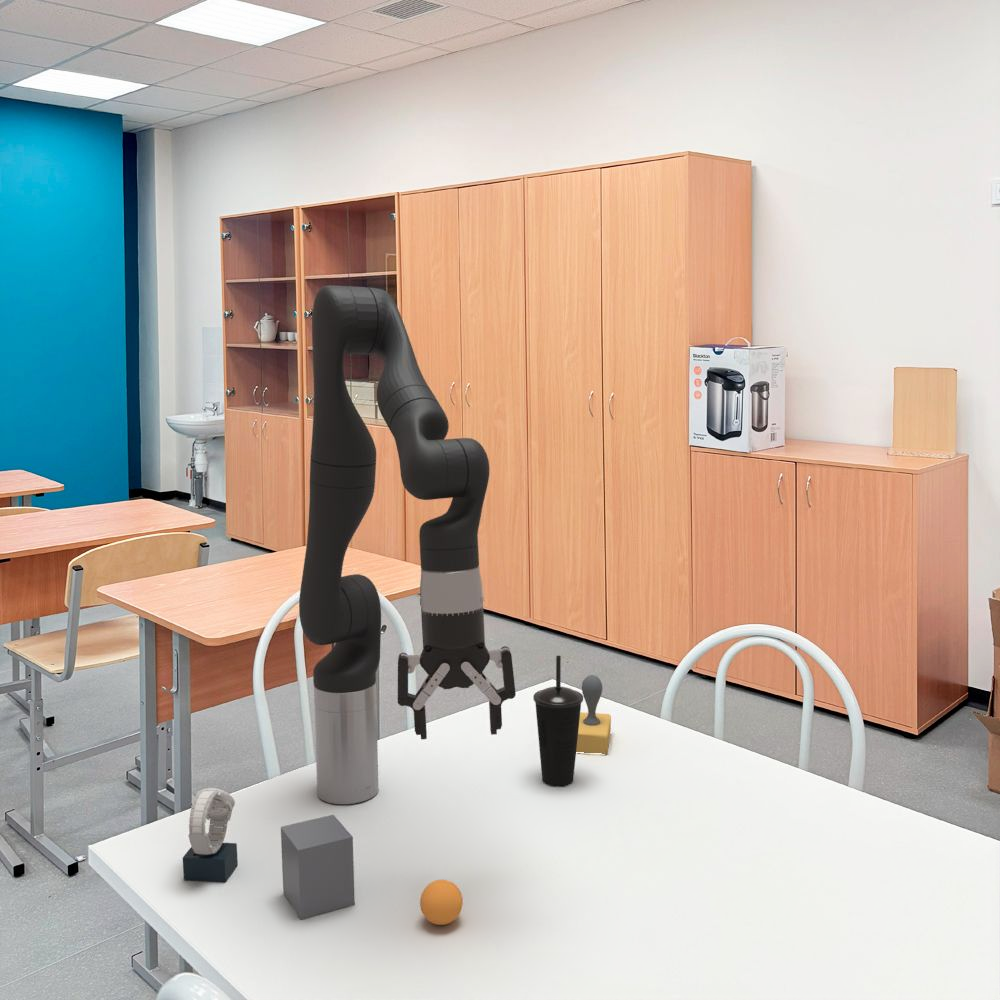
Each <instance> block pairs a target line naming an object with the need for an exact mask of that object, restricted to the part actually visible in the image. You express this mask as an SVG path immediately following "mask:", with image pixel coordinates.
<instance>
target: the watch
mask: <svg viewBox="0 0 1000 1000" xmlns="http://www.w3.org/2000/svg"><path fill="white" fill-rule="evenodd" d="M235 804H236V802H235V798H234V797H233V796H232V795H231V794H230V793H229V792H227V791H225V790H222V789H221V788H220V789H219V788H216V787H215V788H214V787H207V788H204V789H201V790H198V791H197V792H196V795H195V797H194V799H193V801H192V804H191V808H190V812H189V820H188V822H189V824H188V829H189V830H188V831H189V832H188V839H189V843H190V848H189V849H188V850H187V852H186V853H185V854H184V855H183V856H182V867H183V868H182V871H183V881H187V882H204V883H205V882H206V883H207V882H208V883H210V882H211V883H227V882H228V880H229V879H230V877H231V876H232V874H233V873H234V872H235V871H236V869H237V867H238V866H239V865H238V844H237V843H235V842H224V841H225V838H226V834H227V829H228V822H230V820H231V817H232V815H233V814H232V813H233V809H234V807H235ZM207 820H208V821H209V826H208V832H207V831H206V823H207V822H206V821H207ZM206 832H207V833H206Z"/></svg>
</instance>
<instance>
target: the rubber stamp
mask: <svg viewBox="0 0 1000 1000" xmlns="http://www.w3.org/2000/svg"><path fill="white" fill-rule="evenodd" d="M581 692H582V693H581V694H582V695H583V700H584V701H585V703H586V706H587V712H581V711H580V720H579V729H578V739H577V749H576V752H584V753H602V754H606V753H607V754H608V752H609V746H608V745H610V740H609V739H611V738H610V737H611V733H612V732H611V730H612V727H611V726H612V725H611V724H612V720H611V719H612V717H611V715H610V713H599V712H598V713H596V712H597V708H598V707H597V706H598V704H599V703H600V702H599V701H600V699H601V697H602V693H603V683H602V680H601V679H600V678H599V677H598V676H597V675H594V674H590V675H588V676H586V677H585V678H584V679H583V681H582V683H581ZM610 732H611V733H610ZM607 754H606V755H607Z"/></svg>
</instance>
